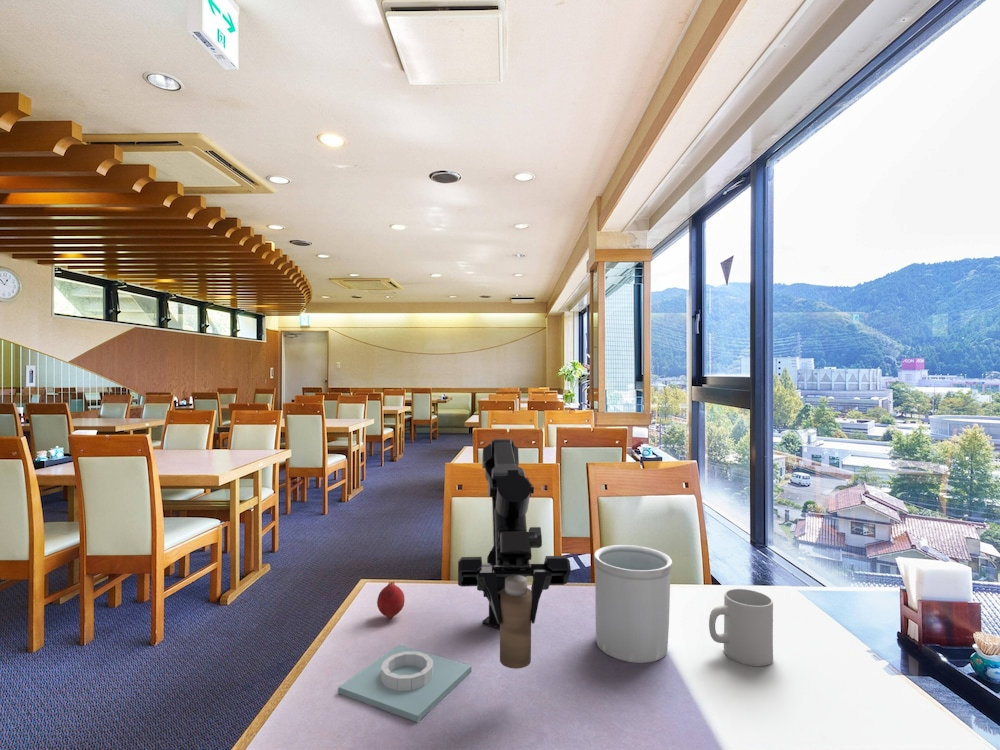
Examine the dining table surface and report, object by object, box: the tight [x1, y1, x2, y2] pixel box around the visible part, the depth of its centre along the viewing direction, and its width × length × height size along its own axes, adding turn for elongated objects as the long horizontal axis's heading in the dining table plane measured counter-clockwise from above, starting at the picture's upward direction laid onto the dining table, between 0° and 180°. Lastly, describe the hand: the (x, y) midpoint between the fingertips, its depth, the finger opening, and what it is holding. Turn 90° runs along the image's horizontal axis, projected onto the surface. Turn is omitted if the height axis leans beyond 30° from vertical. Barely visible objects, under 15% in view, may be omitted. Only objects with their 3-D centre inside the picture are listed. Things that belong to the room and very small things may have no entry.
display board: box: [337, 644, 472, 723], centre depth 92 cm, size 16×16×3 cm
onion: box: [376, 579, 406, 619], centre depth 116 cm, size 6×6×8 cm
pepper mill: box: [499, 575, 532, 670], centre depth 86 cm, size 5×5×13 cm
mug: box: [708, 588, 774, 667], centre depth 102 cm, size 12×8×11 cm
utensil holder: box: [593, 544, 673, 664], centre depth 105 cm, size 15×15×18 cm
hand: (516, 622), depth 85 cm, fingers closed on pepper mill, 5 cm apart
